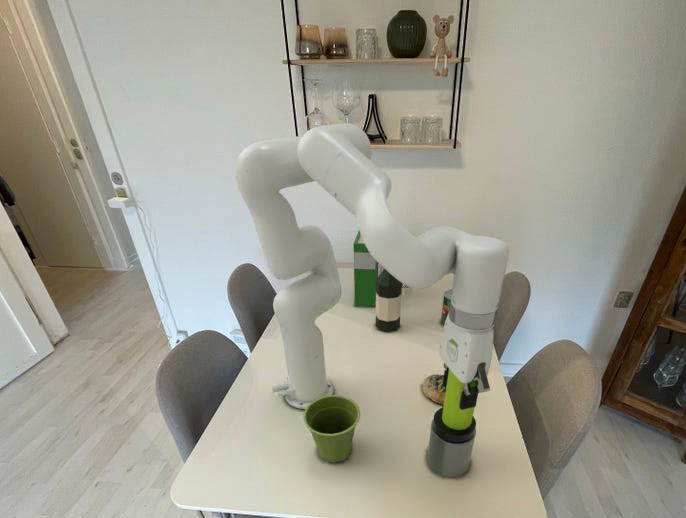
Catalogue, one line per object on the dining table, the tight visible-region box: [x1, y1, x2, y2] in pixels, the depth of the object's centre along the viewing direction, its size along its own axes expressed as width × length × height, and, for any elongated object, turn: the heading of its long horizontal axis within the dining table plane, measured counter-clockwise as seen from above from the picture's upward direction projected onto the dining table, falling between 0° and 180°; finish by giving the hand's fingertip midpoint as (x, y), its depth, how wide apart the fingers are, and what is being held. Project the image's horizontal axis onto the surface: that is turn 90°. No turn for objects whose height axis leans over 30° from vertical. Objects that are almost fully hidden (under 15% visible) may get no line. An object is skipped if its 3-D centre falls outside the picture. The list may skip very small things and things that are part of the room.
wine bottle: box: [375, 268, 403, 333], centre depth 123 cm, size 8×8×30 cm
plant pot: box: [302, 394, 361, 463], centre depth 83 cm, size 12×12×11 cm
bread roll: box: [421, 373, 446, 405], centre depth 101 cm, size 11×11×5 cm
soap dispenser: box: [442, 339, 476, 430], centre depth 71 cm, size 6×7×20 cm
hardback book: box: [353, 230, 379, 308], centre depth 144 cm, size 18×7×24 cm, turn 174°
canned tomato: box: [440, 289, 452, 327], centre depth 130 cm, size 8×8×11 cm
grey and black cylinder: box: [426, 406, 477, 478], centre depth 80 cm, size 9×9×12 cm
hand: (458, 395), depth 73 cm, fingers closed on soap dispenser, 5 cm apart
